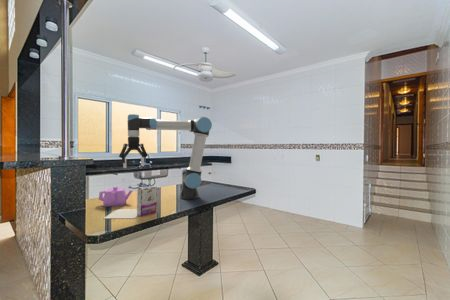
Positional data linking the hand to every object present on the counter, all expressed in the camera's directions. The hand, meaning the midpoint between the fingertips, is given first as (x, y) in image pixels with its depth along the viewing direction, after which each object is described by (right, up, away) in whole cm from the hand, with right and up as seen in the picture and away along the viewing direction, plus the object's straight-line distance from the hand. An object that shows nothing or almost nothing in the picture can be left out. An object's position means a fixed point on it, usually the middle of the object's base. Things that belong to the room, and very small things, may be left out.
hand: (134, 167), depth 157 cm
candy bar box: (+15, -28, -18) cm, 37 cm away
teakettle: (-15, -27, +5) cm, 32 cm away
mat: (+2, -28, -19) cm, 33 cm away
